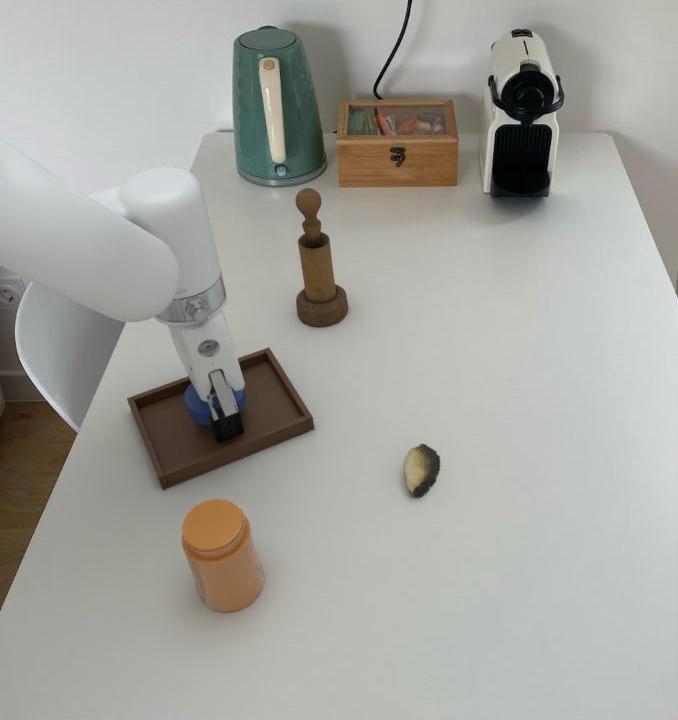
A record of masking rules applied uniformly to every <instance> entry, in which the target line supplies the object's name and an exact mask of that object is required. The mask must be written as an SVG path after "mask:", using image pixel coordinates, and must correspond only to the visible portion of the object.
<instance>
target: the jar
mask: <svg viewBox="0 0 678 720" xmlns="http://www.w3.org/2000/svg"><path fill="white" fill-rule="evenodd" d="M181 526H182V527H181V530H182V532H181V533H182V535H181V547H182V549H183V552H184V554H185V555H184V556H185V558H186V560H187V563H188V566H189V568H190V570H191V573H192V576H193V579H194V581H195V584H196V587H197V589H198V592H199V594H200V597H201V599H202V601H203V602H204V604H205V605H206V606H207V607H208V608H210V609H211V610H213V611H216V612H220V613H233V612H238V611H241V610H244V609H245V608H247V607H248V606H250V605H251V604H253V603H254V602H255V601H256V599H257V598H258V597H259V596H260V594H261V593H262V590H263V588H264V583H265V575H264V571H263V568H262V564H261V560H260V557H259V552H258V549H257V546H256V545H257V544H256V542H255V538H254V535H253V531H252V527H251V524H250V520H249V518H248V517H247V516H246V514H244V511H243V510H242V508H240V507H239V506H238V505H237V504H236V503H234V502H233V501H230V500H229V499H228V500H227V499H223V498H214V499H209V500H205V501H202V502H201V503H199V504H197V505H195V506H194V507H193V508H191V510H190V511H189V512H188V513H187V514H186V516H185V517H184V519H183V522H182V525H181Z"/></svg>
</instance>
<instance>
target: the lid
mask: <svg viewBox="0 0 678 720" xmlns="http://www.w3.org/2000/svg"><path fill="white" fill-rule="evenodd" d="M231 388H232V387H231ZM211 390H214V388H213V386H211ZM232 392H233V395H234V398H235V401H236V404H237V406H238V408H239V411H240V414H241V412H242V411H243V409H244V408H245V404H246V394H245V391H244V388H243V389H242V390H239V391H235V390H234V389H233V388H232ZM184 399H185V403H186V407H187V411H188V414H189V416H190V417H191V418H192V419H193V420H194V421H195V422H197V423H200V424H203V425H211V422H210V419H209V416H210V415H211V412H210V409H209V406H208V404H207V402H205V401H203V400H201V399H200V397H199V395H198V393H197V391H196V389H195V388H194V386H193V384H192V383H191V384H190V385H189V387H188V388H187V390H186V392H185V396H184ZM213 402H214V405H215V408H216V409H217V408H220V404H219V401H218V399H217V398H215V399H213Z"/></svg>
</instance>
